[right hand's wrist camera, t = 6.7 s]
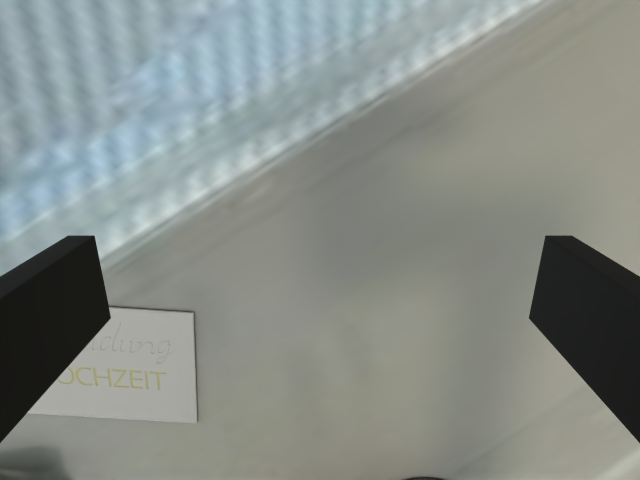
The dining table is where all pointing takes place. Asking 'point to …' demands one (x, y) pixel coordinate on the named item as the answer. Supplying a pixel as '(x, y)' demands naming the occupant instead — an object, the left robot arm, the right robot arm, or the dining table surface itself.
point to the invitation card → (131, 371)
